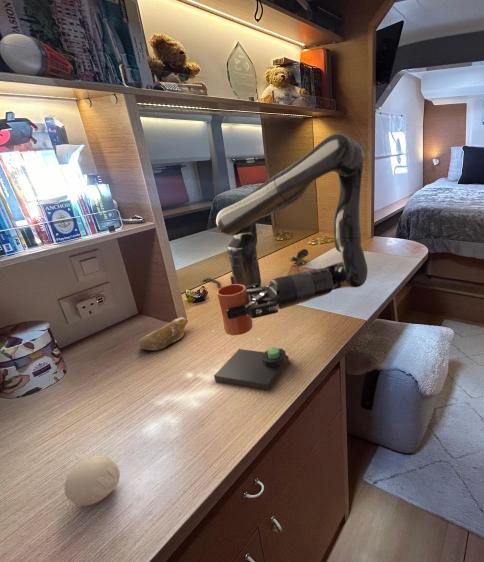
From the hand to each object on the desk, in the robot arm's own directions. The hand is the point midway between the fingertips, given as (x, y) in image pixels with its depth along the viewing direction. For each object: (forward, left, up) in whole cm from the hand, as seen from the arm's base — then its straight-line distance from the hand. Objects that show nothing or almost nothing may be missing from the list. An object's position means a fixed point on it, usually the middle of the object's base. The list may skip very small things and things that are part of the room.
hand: (223, 308), depth 76 cm
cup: (+2, +2, -6) cm, 6 cm away
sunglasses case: (-4, +58, -18) cm, 61 cm away
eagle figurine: (-13, +73, -18) cm, 77 cm away
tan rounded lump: (-5, -33, -18) cm, 38 cm away
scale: (+4, +1, -18) cm, 18 cm away
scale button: (+8, +4, -15) cm, 17 cm away
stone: (-28, +8, -18) cm, 35 cm away
